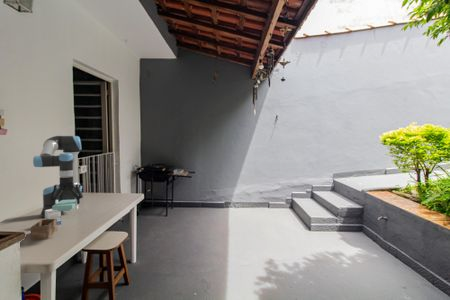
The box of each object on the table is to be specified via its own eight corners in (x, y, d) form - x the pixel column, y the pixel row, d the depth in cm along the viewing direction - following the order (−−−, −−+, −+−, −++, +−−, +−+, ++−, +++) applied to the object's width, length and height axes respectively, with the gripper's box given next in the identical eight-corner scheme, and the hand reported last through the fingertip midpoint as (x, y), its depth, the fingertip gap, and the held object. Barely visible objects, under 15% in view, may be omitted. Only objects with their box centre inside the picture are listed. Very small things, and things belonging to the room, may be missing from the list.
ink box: (59, 222, 176) (58, 207, 175) (61, 224, 173) (61, 208, 172) (44, 226, 169) (44, 209, 168) (47, 227, 166) (46, 211, 165)
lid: (62, 205, 162) (61, 200, 162) (80, 204, 165) (79, 199, 165) (52, 212, 148) (52, 206, 148) (72, 211, 151) (72, 205, 151)
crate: (41, 231, 160) (41, 219, 159) (57, 230, 162) (56, 218, 162) (30, 239, 146) (30, 227, 146) (47, 238, 148) (47, 226, 148)
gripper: (42, 178, 149) (43, 212, 150) (84, 177, 155) (85, 209, 156) (48, 176, 156) (49, 208, 157) (87, 175, 162) (88, 206, 163)
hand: (66, 209), depth 157 cm, fingers closed on lid, 11 cm apart
